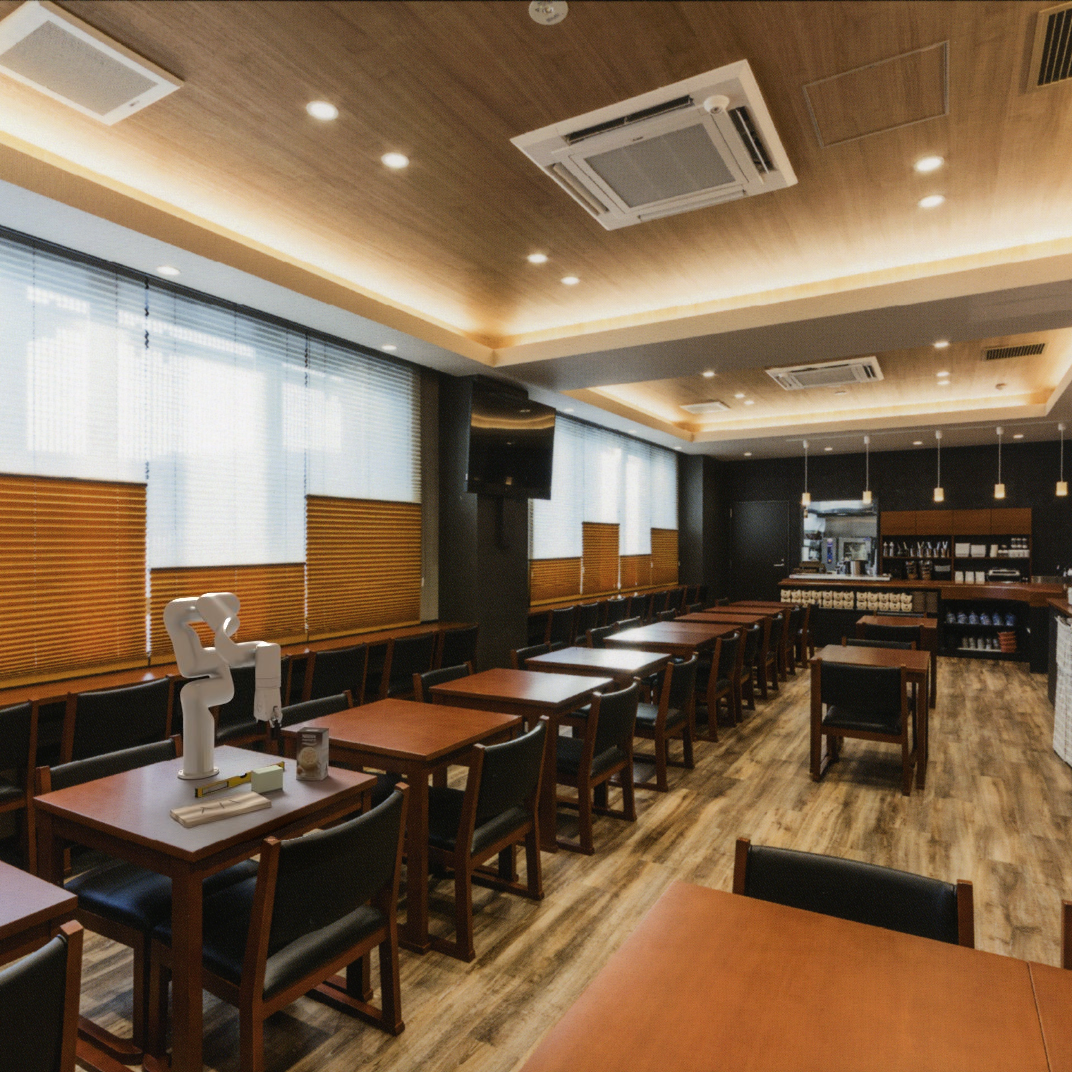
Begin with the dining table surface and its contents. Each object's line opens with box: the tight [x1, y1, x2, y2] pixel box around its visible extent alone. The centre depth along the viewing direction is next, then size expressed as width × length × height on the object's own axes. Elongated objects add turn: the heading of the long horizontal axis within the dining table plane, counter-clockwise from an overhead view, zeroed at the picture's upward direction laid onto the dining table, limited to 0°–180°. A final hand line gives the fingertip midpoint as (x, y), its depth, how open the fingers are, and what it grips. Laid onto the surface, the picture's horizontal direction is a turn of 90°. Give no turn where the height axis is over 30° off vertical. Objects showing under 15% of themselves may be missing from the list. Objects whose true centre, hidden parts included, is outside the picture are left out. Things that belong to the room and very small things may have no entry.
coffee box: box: [295, 726, 330, 781], centre depth 246 cm, size 9×6×16 cm
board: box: [170, 790, 272, 829], centre depth 215 cm, size 13×24×2 cm, turn 134°
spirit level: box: [194, 760, 286, 799], centre depth 240 cm, size 33×1×3 cm, turn 150°
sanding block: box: [250, 764, 284, 796], centre depth 232 cm, size 5×8×7 cm, turn 135°
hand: (268, 737), depth 232 cm, fingers open, 9 cm apart
